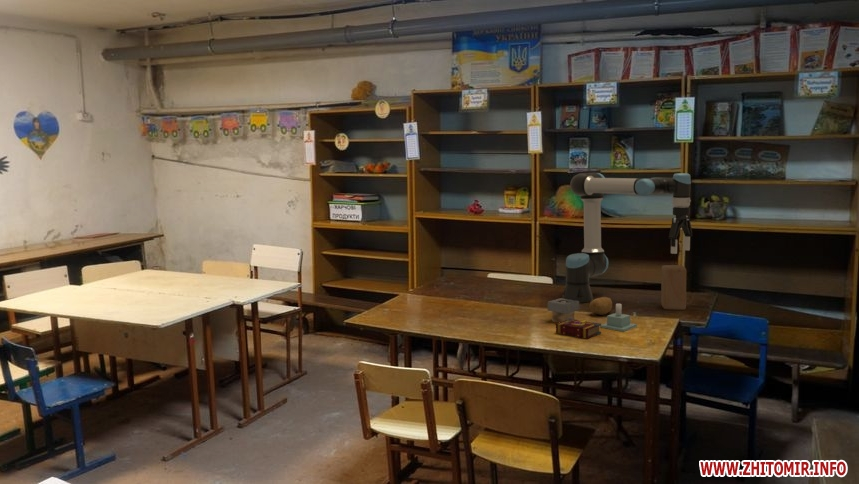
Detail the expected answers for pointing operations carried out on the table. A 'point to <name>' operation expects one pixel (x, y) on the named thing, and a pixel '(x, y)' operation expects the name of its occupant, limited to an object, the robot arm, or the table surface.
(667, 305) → the wooden block
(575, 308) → the grey square frame
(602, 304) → the potato
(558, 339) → the table surface
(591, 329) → the decorative book
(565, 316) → the stand
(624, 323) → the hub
